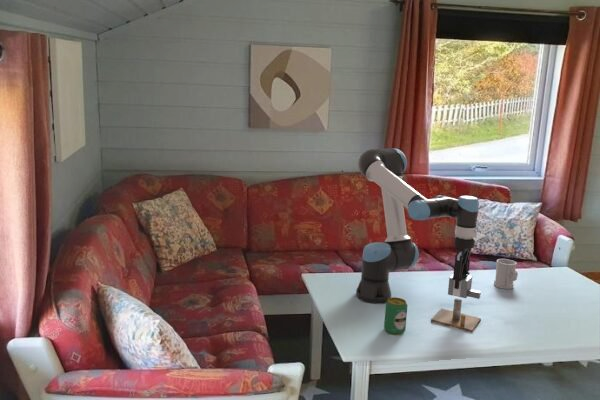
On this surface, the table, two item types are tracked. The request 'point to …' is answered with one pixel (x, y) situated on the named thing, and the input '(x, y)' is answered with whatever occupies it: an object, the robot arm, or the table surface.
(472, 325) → the post base
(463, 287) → the grey hollow square block
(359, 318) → the table surface
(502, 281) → the cup
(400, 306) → the beverage can
